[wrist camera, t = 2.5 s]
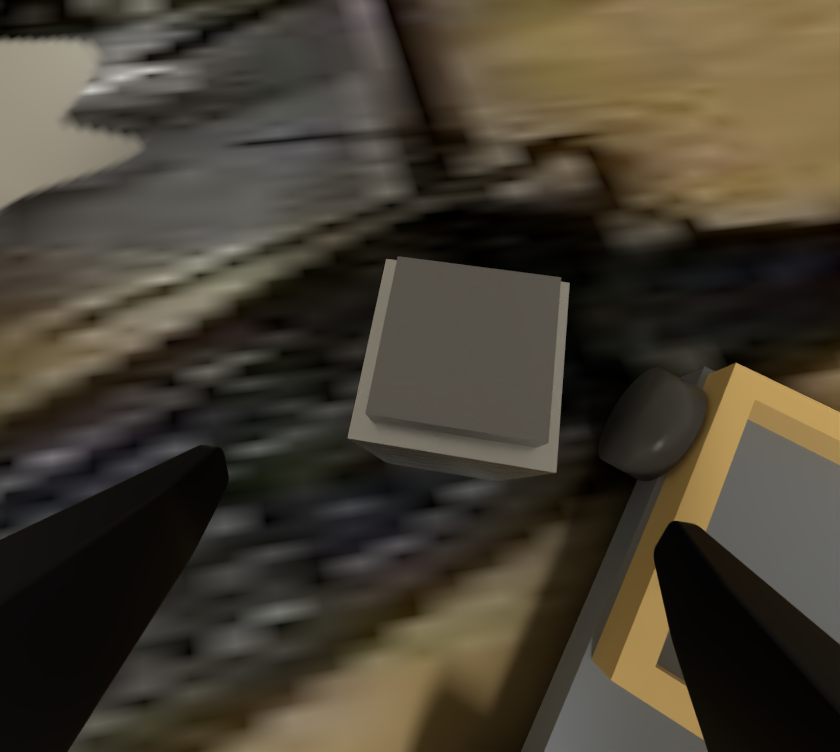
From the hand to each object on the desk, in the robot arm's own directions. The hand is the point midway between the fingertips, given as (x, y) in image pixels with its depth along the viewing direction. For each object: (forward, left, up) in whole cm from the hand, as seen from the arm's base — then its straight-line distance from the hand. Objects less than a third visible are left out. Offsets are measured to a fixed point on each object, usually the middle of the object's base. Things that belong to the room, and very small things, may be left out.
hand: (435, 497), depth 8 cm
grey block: (+3, +1, -10) cm, 11 cm away
